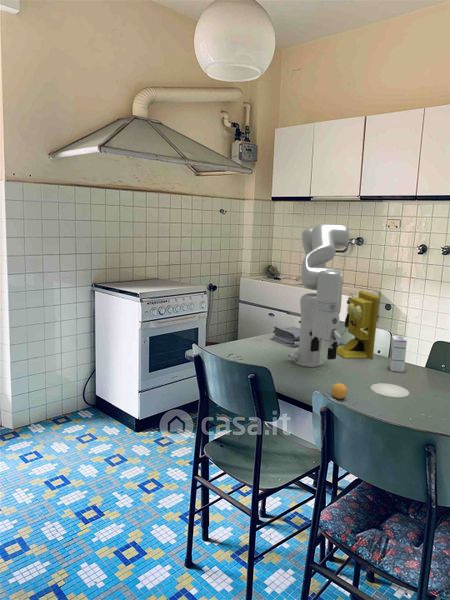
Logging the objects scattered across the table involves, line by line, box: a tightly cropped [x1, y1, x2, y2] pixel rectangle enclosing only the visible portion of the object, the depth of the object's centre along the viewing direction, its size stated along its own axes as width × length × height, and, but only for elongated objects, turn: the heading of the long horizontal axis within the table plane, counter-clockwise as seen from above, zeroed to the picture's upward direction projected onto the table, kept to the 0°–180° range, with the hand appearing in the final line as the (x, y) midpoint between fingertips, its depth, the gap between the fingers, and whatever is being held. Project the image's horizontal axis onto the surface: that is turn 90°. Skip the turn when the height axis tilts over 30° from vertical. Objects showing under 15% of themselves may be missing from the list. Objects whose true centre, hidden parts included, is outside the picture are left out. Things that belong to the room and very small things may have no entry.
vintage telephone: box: [336, 289, 380, 360], centre depth 219 cm, size 31×14×30 cm, turn 9°
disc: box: [370, 382, 410, 399], centre depth 174 cm, size 14×14×1 cm
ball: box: [331, 383, 348, 400], centre depth 163 cm, size 6×6×6 cm
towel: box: [270, 325, 300, 348], centre depth 237 cm, size 15×18×8 cm
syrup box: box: [388, 335, 408, 373], centre depth 198 cm, size 6×6×14 cm
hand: (322, 355), depth 158 cm, fingers open, 9 cm apart
